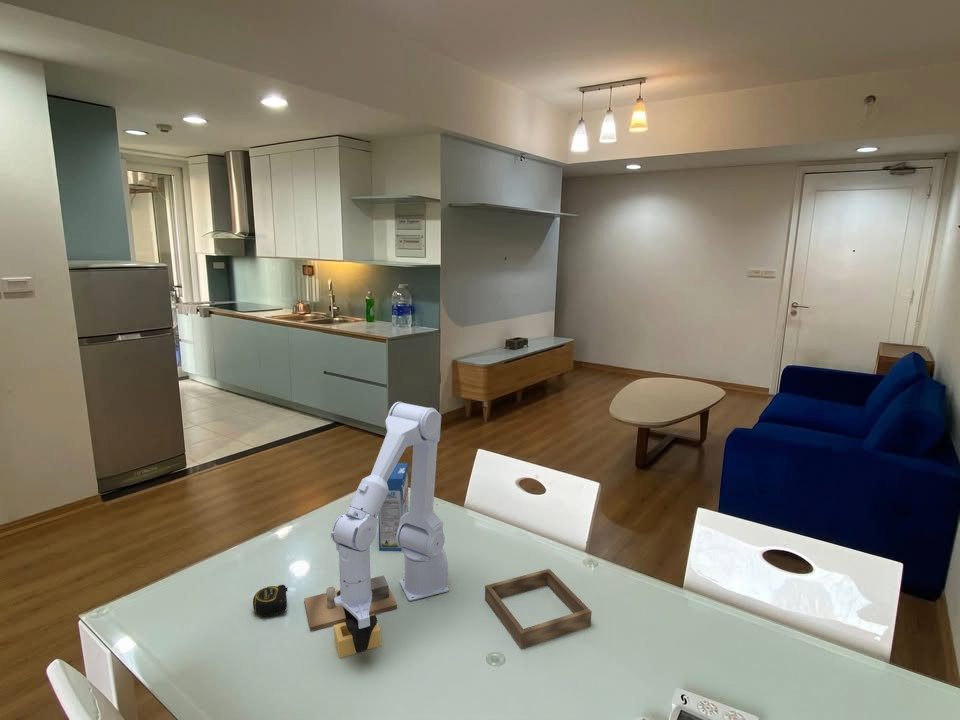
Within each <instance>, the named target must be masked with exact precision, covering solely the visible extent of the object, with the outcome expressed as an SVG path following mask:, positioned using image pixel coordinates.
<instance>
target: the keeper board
mask: <svg viewBox="0 0 960 720" xmlns="http://www.w3.org/2000/svg"><path fill="white" fill-rule="evenodd" d="M338 591H340V589H337V590H336V588H335V586H329V587H327V588H326V590H325V592H324V593H321V594H317V595H316V594H315V595H313V596H309V597H308V596H307V597H305V598H304V599H303V600H304V606H305V607H304V608H305V611H306V617H307V621H308V626H309V629H310V632H314V631H317V630H322V629H325V628H329V627H334V625H336V624H340V623H344V622H345V621H346V617H345V612H344V608H343V606H341V605H340V606H336V605H335V602H334V598H335V597H337V592H338ZM371 591H372V601H371V606H370V611H369V616H370V615H378V614H382V613H385V612H389V611H390V612H391V611H393V610H397V609H398V604H397V602H396V599H395V598H394V595H393V593H392V590H391V589H390V587H389V583H388V581H387V579H386V577H385V575H380V576H375V577H371Z"/></svg>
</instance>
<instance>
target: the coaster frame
mask: <svg viewBox="0 0 960 720" xmlns="http://www.w3.org/2000/svg"><path fill="white" fill-rule="evenodd" d="M484 587H485V588H484V601H486V603H487V605H488V606H489V607H490V609H491V610H492V612H493V613H494V615H495V616H496V617H497V619H499V621H500V623H501V624H502V625H503V627H504V628H505V629H506V631H507V632H508V634H509V635H510V636H511V639H513V640H514V642H515V643H516V645H517V646H518V648H519V649H520V650H523V649H526V648H529V647H533V646H535V645H537V644H541V643H544V642H548V641H550V640H554V639H556V638H560V637H562V636H566V635H568V634H571V633H573V632H577V631H580V630H584V629H586V628H589V627H591V625H592V610H591V609H590V608H589V607H588V606H587V605H586V604H585V603H584V602H583V601H582V600H581V599H580V598H579V597H578V596H577V594H575V593H574V592H573V590H571V589H570V588H569V586H567V585H566V584H565V583H564V582H563V581H562V580H561V579H560V578H559V577H558V576H557V574H555V573H554V572H553V571H552V570H551V568H545V569H543V570H539V571H538V570H537V571H535V572H532V573H528V574H525V575H520V576H516V577H513V578H509V579H505V580H502V581H501V580H500V581H497V582H495V583H490V584H486V585H485V586H484ZM543 587H548V588H549V589H550V590H551V591H552V592H553V594H554V595H555V596H556V597H557V598H558V599H559V600H560V601H561V602H562V603H563V604H564V605H565V606H566V608H568V610H570V611H571V613H570V614H567V615H564V616H563V615H562V616H561V617H557V618H553V619H551V620H548V621H544V622H541V623H538V624H534V625H531V626H528V627H525V628H523V626H522V625H521V623H520V622H519V621H518V620H517V619H516V617H515V616H514V614H513V613H512V612H511V611H510V609H509V608H508V606H507V605H506V604H505V603H504V601H503V600H502V599H505V598H507V597H511V596H514V595H515V596H516V595H518V594H522V593H525V592H530V591H531V590H532V591H533V590H536V589H539V588H543Z"/></svg>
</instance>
